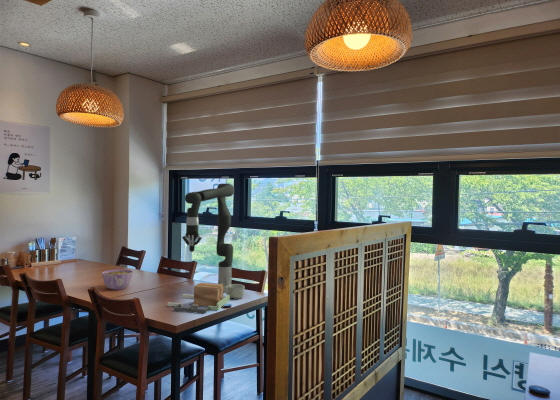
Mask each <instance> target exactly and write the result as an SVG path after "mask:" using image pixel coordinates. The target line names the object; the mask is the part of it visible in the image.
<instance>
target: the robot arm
mask: <svg viewBox="0 0 560 400" xmlns="http://www.w3.org/2000/svg"><path fill="white" fill-rule="evenodd" d="M234 193H235V187H234V185H233V184H231V183H219V184H218V185H217V187H216V188H208V189H203V190H198V191H190V192H187V193H185V194H186V195H184V200H185V202H186V203H187V204H191V207H188V208H187V210H186V222H185V223H186V225H185V227H186V229H185V232H186V233H185V235H184V236H182V239H183V241H184V243H185V244H186V245H187V246H189V247H188V248H189V252H191V253H194V251H195V246H197V245H198V244H199V243H200V241H202V239H203V237H202V236H200V234H199V227H200V226H199V222H200V221H199V211H200V207H201V204H202V202H206V201H209V200H213V199H216V200H217V201H216V202H217V239H216V240H217V241H216V250H215V251H216V255H217V256H219V257H224V260H221V261H219V262H218V267H217V268H218V271H217V272H218V274H217V275H218V277H217V284H223V288H224V287H225V286H227V287H228V286H229V285H231V284H232V272H233V269H232V266H233V265H232V264H233V259H234V245H233V244H232V243H226V242H225V237H226V234H227V233H228V231H229V229H230V227H231V226H232V225H231V224H232V214H231V212H230V209H229V208H228V206H227V202H226V199H227V198H228V197H229V198H230V197H232V196H233V195H234ZM226 197H227V198H226ZM225 291H226V292H228V289H227V288H225ZM223 293H225V292H224V291H223Z"/></svg>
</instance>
